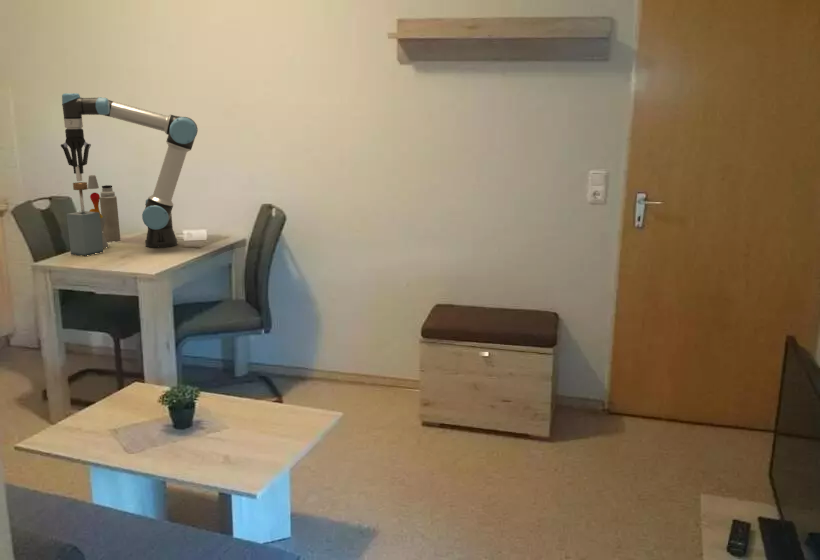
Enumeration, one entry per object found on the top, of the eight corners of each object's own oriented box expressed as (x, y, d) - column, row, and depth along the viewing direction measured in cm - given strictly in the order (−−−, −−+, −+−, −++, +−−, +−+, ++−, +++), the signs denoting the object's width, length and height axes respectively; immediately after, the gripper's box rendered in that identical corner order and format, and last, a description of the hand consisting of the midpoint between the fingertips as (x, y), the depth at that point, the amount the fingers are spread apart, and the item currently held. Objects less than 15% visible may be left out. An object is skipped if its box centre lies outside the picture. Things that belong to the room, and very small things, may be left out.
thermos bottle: (108, 238, 397) (103, 184, 391) (123, 239, 396) (118, 184, 390) (100, 241, 389) (95, 186, 383) (116, 242, 389) (110, 186, 382)
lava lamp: (113, 246, 378) (106, 174, 370) (102, 249, 369) (95, 176, 361) (96, 245, 380) (88, 174, 372) (85, 249, 371) (77, 176, 363)
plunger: (97, 228, 360) (92, 182, 355) (83, 231, 353) (78, 184, 348) (85, 227, 363) (81, 181, 358) (72, 229, 356) (67, 183, 351)
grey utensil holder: (103, 252, 363) (99, 212, 358) (85, 256, 354) (81, 215, 350) (88, 250, 367) (84, 211, 363) (70, 254, 359) (66, 213, 354)
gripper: (55, 128, 343) (61, 181, 349) (85, 128, 344) (91, 181, 349) (62, 128, 351) (68, 180, 356) (91, 128, 351) (96, 179, 357)
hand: (79, 180), depth 353 cm, fingers closed
